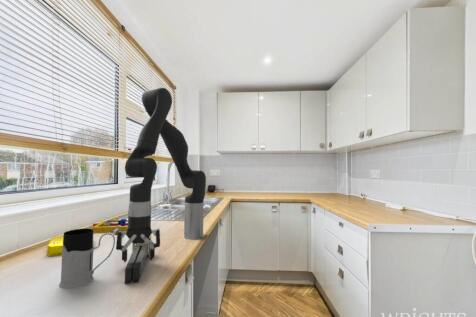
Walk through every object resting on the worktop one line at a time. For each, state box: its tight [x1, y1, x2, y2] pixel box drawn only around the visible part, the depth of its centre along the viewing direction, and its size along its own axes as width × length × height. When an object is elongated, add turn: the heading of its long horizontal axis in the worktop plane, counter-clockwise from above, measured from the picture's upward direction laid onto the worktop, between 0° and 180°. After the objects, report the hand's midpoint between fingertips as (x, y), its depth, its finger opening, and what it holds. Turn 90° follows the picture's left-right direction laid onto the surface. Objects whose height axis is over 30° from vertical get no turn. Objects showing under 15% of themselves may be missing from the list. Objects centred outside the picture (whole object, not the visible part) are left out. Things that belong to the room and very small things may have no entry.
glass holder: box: [58, 228, 116, 290], centre depth 73 cm, size 9×14×15 cm, turn 114°
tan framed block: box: [131, 235, 152, 258], centre depth 92 cm, size 3×6×7 cm, turn 105°
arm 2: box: [131, 246, 148, 284], centre depth 81 cm, size 20×2×4 cm, turn 14°
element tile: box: [46, 234, 64, 257], centre depth 101 cm, size 15×15×5 cm
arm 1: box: [124, 246, 140, 285], centre depth 80 cm, size 20×2×4 cm, turn 16°
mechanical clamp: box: [91, 218, 128, 235], centre depth 129 cm, size 18×6×30 cm
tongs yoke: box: [135, 243, 149, 258], centre depth 92 cm, size 3×5×5 cm, turn 105°
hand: (138, 260), depth 84 cm, fingers open, 8 cm apart
